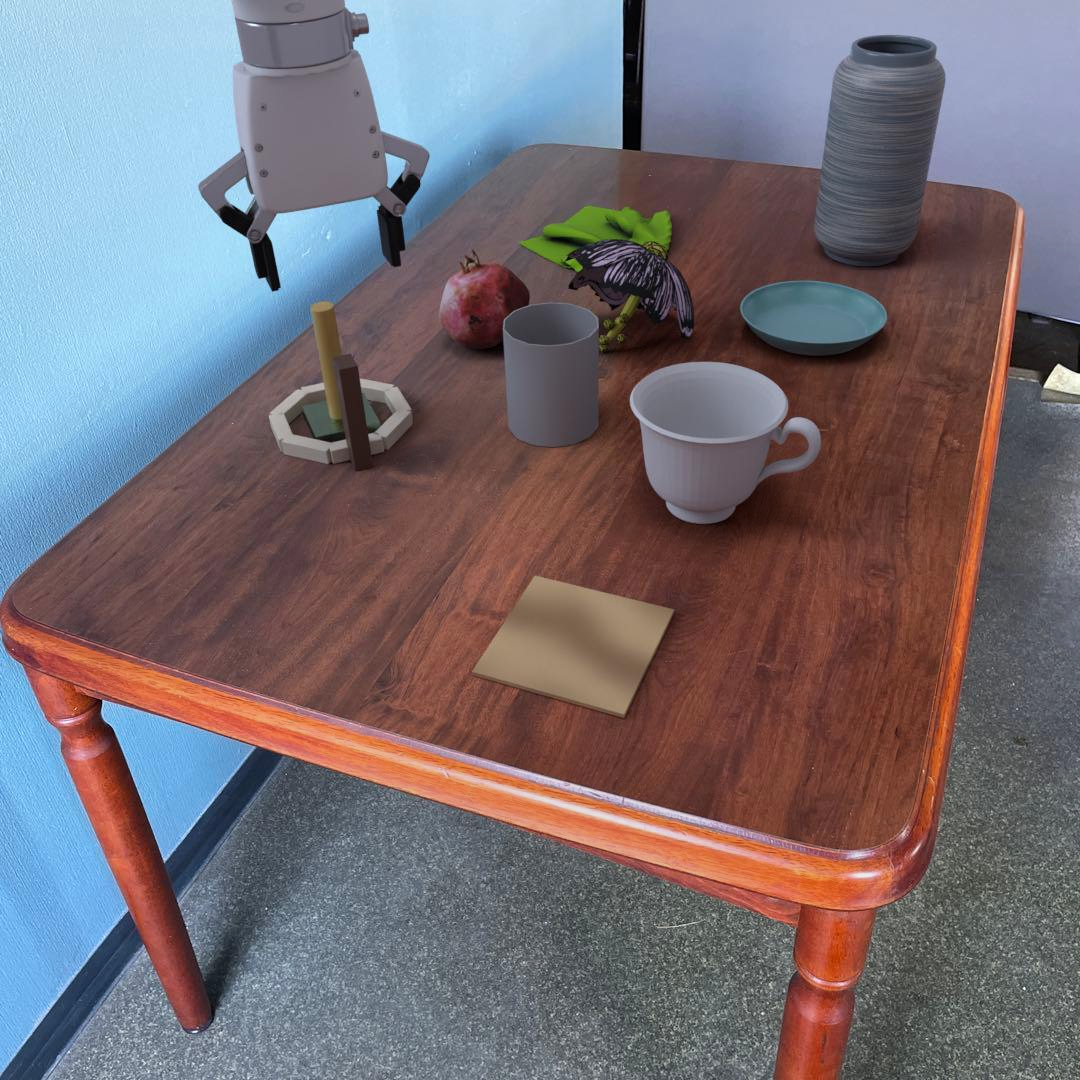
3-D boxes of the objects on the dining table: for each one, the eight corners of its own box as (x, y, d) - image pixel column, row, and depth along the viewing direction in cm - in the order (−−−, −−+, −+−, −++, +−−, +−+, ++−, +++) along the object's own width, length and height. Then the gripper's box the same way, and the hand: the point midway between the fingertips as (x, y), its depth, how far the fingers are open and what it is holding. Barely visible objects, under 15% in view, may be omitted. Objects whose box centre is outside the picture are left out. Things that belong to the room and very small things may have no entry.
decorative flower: (744, 259, 103) (598, 232, 98) (715, 379, 106) (573, 357, 102) (685, 245, 116) (555, 220, 112) (662, 352, 120) (534, 331, 115)
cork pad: (624, 718, 70) (624, 714, 70) (472, 675, 74) (471, 671, 73) (674, 613, 78) (674, 609, 78) (534, 579, 81) (534, 575, 81)
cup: (497, 441, 97) (491, 341, 91) (520, 396, 103) (515, 299, 97) (589, 451, 95) (588, 349, 89) (606, 404, 101) (607, 306, 95)
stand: (317, 448, 97) (294, 327, 90) (303, 416, 101) (280, 299, 94) (382, 433, 99) (364, 313, 91) (365, 403, 103) (347, 286, 96)
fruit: (548, 332, 114) (545, 242, 107) (496, 370, 107) (490, 276, 101) (478, 313, 118) (472, 225, 112) (424, 349, 112) (414, 257, 105)
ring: (263, 408, 103) (242, 312, 97) (388, 381, 106) (375, 286, 100) (294, 486, 92) (273, 383, 86) (431, 452, 96) (420, 352, 90)
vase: (792, 255, 127) (817, 47, 113) (842, 225, 134) (871, 26, 120) (882, 280, 121) (919, 64, 107) (929, 248, 128) (971, 40, 114)
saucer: (914, 344, 109) (919, 320, 107) (797, 381, 104) (800, 356, 102) (821, 291, 119) (824, 268, 118) (710, 321, 114) (711, 298, 113)
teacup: (784, 575, 81) (800, 464, 75) (603, 525, 86) (604, 419, 80) (827, 491, 89) (844, 385, 83) (659, 451, 95) (664, 349, 89)
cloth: (580, 289, 122) (580, 269, 120) (496, 227, 137) (495, 208, 136) (728, 251, 129) (730, 231, 127) (633, 196, 144) (633, 178, 143)
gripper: (399, 14, 80) (423, 236, 90) (161, 45, 75) (215, 275, 85) (430, 35, 74) (452, 269, 85) (175, 70, 69) (231, 314, 80)
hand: (333, 272), depth 85 cm, fingers open, 9 cm apart
